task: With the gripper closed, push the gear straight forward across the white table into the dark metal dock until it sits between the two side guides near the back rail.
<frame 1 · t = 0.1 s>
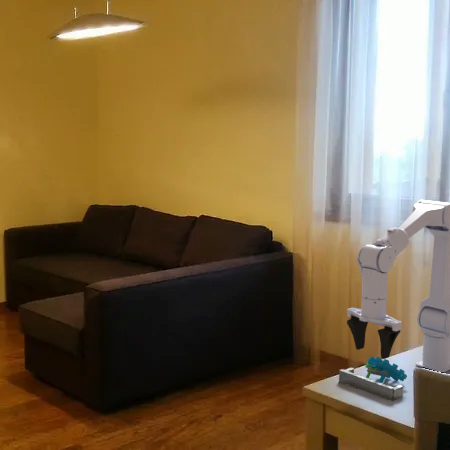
hand: (372, 353, 160), 10 cm above the table, tool pointing down, fingers open, 7 cm apart
dock: (370, 388, 164), on the table
gear: (384, 383, 168), on the table
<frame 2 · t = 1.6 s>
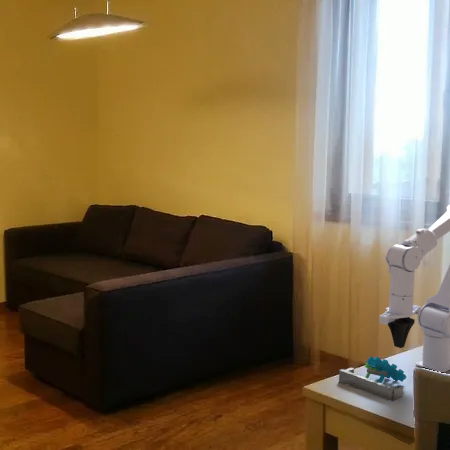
hand: (399, 346, 170), 8 cm above the table, tool pointing down, fingers closed
nothing on the table moved.
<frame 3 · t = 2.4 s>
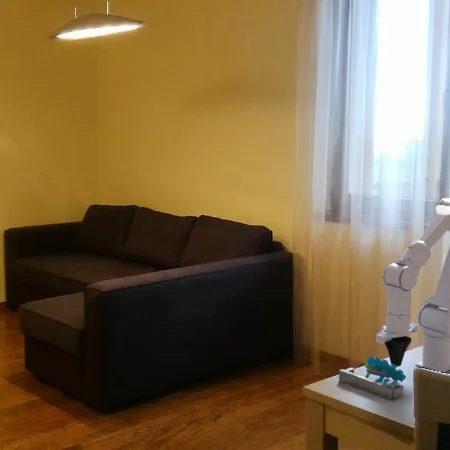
hand: (395, 365, 170), 3 cm above the table, tool pointing down, fingers closed
nothing on the table moved.
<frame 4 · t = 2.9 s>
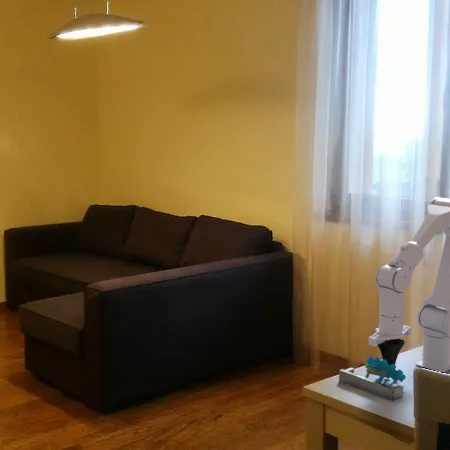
hand: (389, 367, 168), 3 cm above the table, tool pointing down, fingers closed
gear: (383, 384, 168), on the table, touching gripper
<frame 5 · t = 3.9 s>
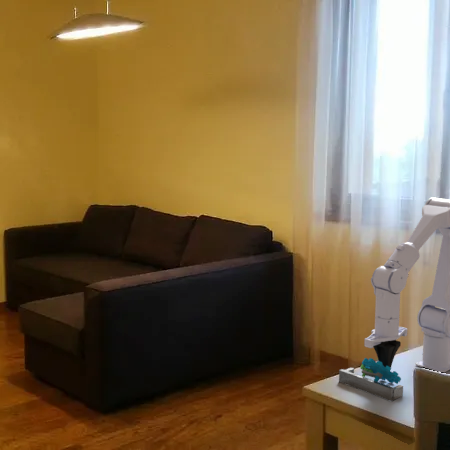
hand: (385, 369, 167), 3 cm above the table, tool pointing down, fingers closed
gear: (378, 385, 167), on the table
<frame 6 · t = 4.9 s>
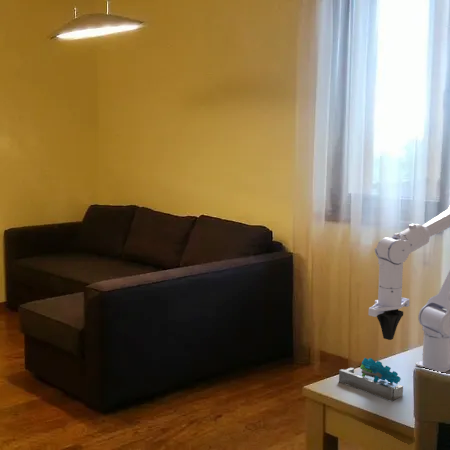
hand: (388, 338, 172), 9 cm above the table, tool pointing down, fingers closed
nothing on the table moved.
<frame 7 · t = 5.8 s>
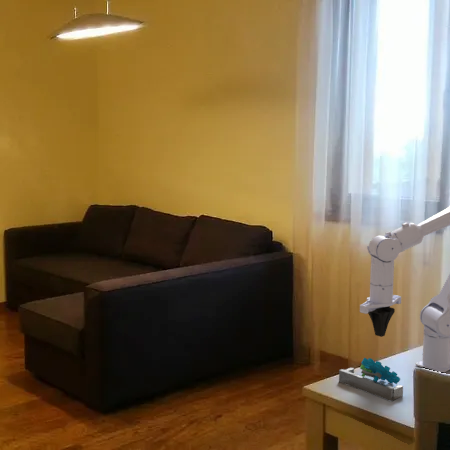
hand: (379, 335, 175), 9 cm above the table, tool pointing down, fingers closed
nothing on the table moved.
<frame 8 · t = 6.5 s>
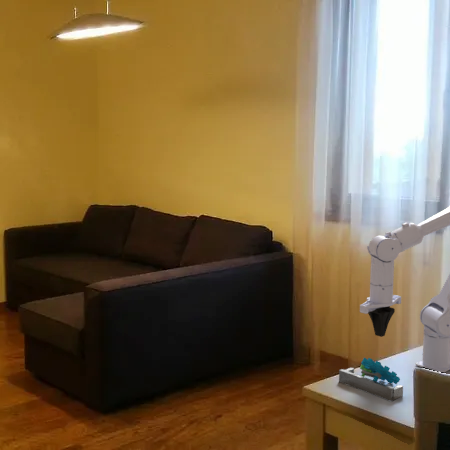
hand: (379, 335, 175), 9 cm above the table, tool pointing down, fingers closed
nothing on the table moved.
at the end: gear 1.4 cm from the target spot on the dock, point 0.0 cm above the dock's base; gear moved 2.4 cm from its start; gear tilted 0° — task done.
